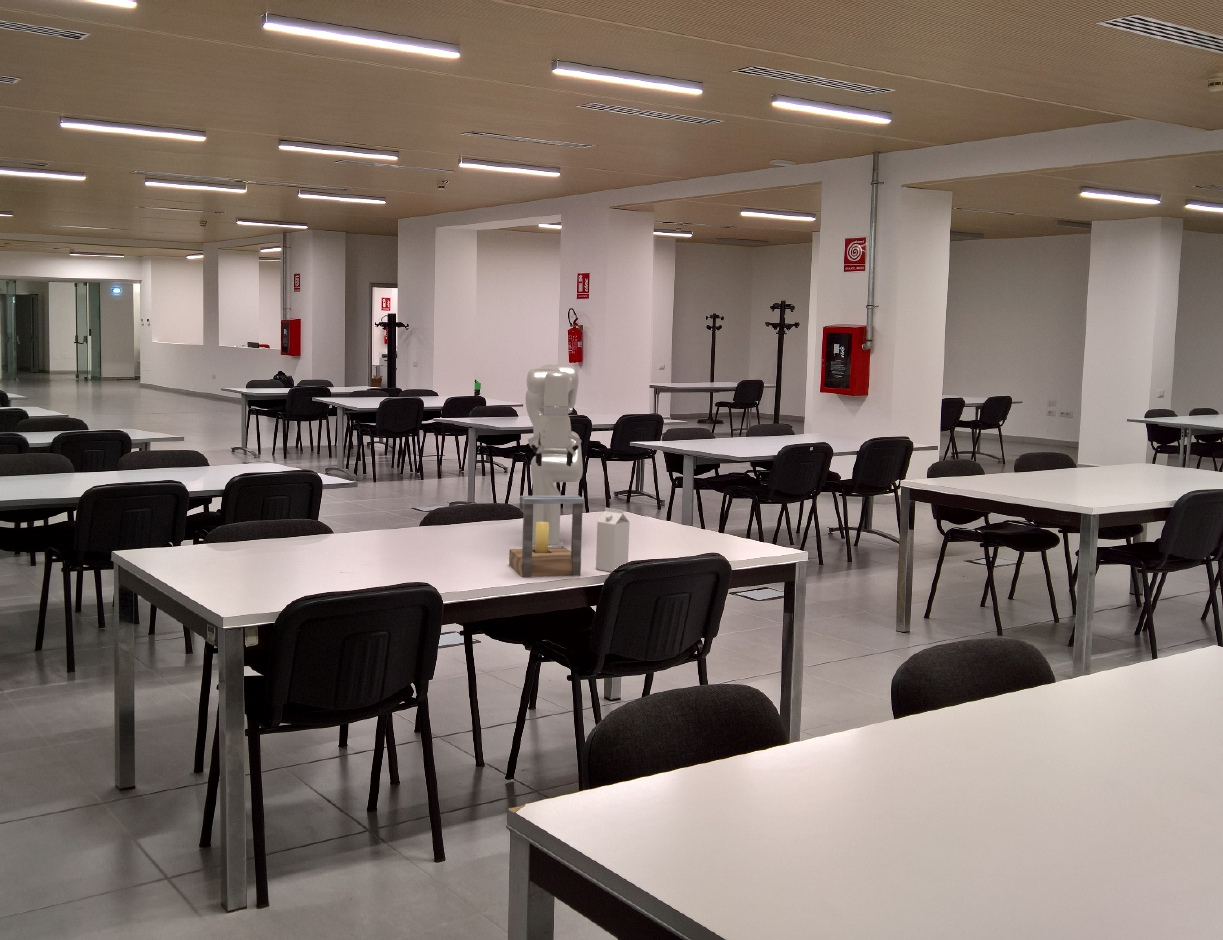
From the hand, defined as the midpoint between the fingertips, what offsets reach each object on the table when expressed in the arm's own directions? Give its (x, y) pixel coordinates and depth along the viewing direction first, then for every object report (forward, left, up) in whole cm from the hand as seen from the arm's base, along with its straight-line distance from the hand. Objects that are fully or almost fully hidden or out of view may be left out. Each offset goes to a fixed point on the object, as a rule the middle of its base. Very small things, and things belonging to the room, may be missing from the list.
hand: (554, 465), depth 355 cm
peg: (+11, -6, -30) cm, 33 cm away
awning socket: (+15, -6, -30) cm, 34 cm away
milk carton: (+17, +15, -31) cm, 38 cm away
